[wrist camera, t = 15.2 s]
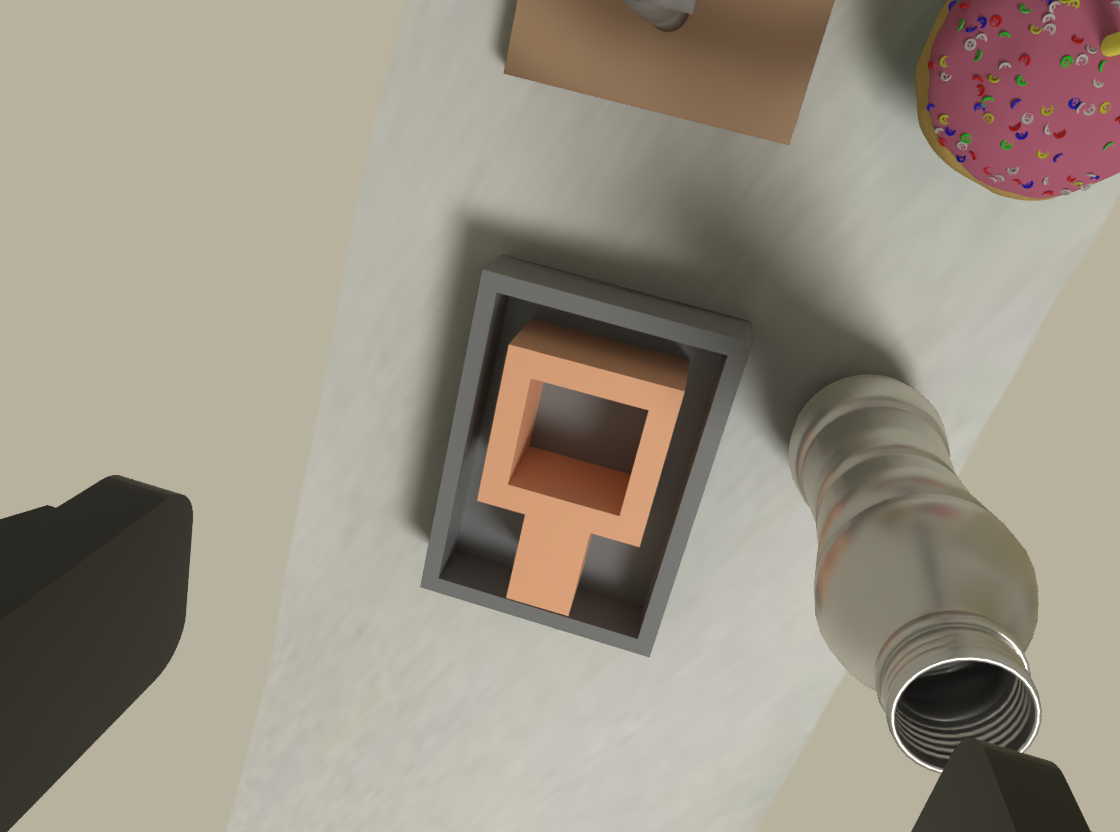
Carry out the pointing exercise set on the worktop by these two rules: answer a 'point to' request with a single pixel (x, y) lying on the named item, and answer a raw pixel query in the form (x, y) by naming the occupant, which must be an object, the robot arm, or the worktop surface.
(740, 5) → the stake stand
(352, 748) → the worktop surface
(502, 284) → the tray
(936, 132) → the cupcake
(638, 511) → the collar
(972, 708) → the plastic bottle
